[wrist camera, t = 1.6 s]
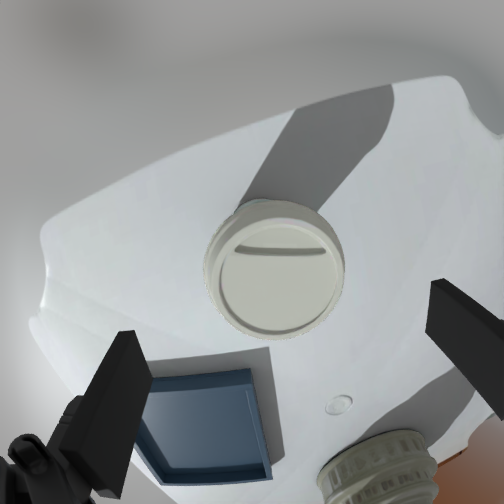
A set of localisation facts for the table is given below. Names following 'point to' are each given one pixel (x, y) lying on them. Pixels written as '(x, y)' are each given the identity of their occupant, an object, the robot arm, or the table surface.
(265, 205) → the coffee cup
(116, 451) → the robot arm
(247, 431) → the tray
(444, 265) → the table surface
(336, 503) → the dome
